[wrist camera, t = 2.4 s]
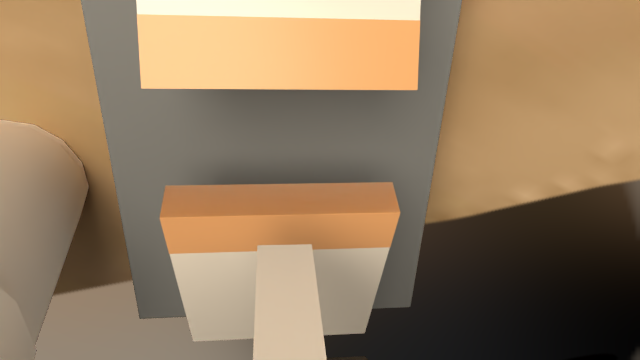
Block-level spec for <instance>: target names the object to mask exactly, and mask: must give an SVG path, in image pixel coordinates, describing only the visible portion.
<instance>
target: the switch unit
mask: <svg viewBox="0 0 640 360" xmlns="http://www.w3.org/2000/svg"><path fill="white" fill-rule="evenodd" d="M461 3H462V0H421V6H420V40H419V65H418V89H417V90H276V89H141V76H140V60H139V43H138V27H137V4H136V0H81V4H82V9H83V15H84V20H85V26H86V31H87V36H88V42H89V47H90V52H91V58H92V63H93V69H94V74H95V79H96V85H97V90H98V96H99V101H100V106H101V112H102V117H103V123H104V128H105V133H106V139H107V144H108V150H109V155H110V160H111V166H112V171H113V177H114V182H115V187H116V193H117V198H118V204H119V209H120V214H121V220H122V225H123V231H124V236H125V241H126V247H127V252H128V258H129V263H130V268H131V274H132V279H133V285H134V290H135V295H136V301H137V306H138V312H139V317H140V319H145V318H167V317H186V313H185V310H184V306H183V302H182V298H181V295H180V291H179V287H178V284H177V280H176V276H175V272H174V269H173V265H172V261H171V258H170V254H169V252H168V248H167V244H166V240H165V237H164V233H163V229H162V226H161V222H160V212H161V207H162V202H163V196H164V191H165V186H171V185H237V184H304V183H370V182H393V186H394V190H395V194H396V198H397V201H398V205H399V209H400V216H399V219H398V223H397V226H396V230H395V233H394V236H393V240H392V243H391V247H390V248H389V252H388V255H387V259H386V262H385V265H384V269H383V272H382V276H381V279H380V283H379V286H378V289H377V293H376V296H375V300H374V303H373V307H372V309H374V308H397V307H410V306H411V300H412V294H413V287H414V281H415V276H416V270H417V264H418V258H419V252H420V246H421V240H422V234H423V229H424V223H425V217H426V211H427V205H428V199H429V193H430V187H431V181H432V175H433V169H434V163H435V157H436V151H437V146H438V140H439V134H440V128H441V122H442V116H443V110H444V104H445V98H446V92H447V86H448V80H449V74H450V68H451V62H452V57H453V51H454V45H455V39H456V33H457V27H458V21H459V15H460V9H461Z"/></svg>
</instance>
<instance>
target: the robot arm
mask: <svg viewBox="0 0 640 360" xmlns="http://www.w3.org/2000/svg"><path fill="white" fill-rule="evenodd" d="M253 360H368V359H367V358H366V356H362V357H337V358H326V351H325V343H324V335H323V328H322V320H321V312H320V304H319V296H318V289H317V281H316V273H315V265H314V257H313V249H312V244H298V245H257V269H256V294H255V319H254V345H253Z"/></svg>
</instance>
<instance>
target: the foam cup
mask: <svg viewBox="0 0 640 360" xmlns="http://www.w3.org/2000/svg"><path fill="white" fill-rule="evenodd" d="M88 189H89V185H88V182H87V178H86V175H85V171H84V167H83V164H82V162H81V161H80V159H79V158H78V157H77V156H76V155H75V154H74V153H73V151H72V150H71V149H70V148H69V147H68V146H67V144H66V143H65V142H64V141H63V140H62V139H60V138H58V137H56V136H54V135H53V134H51V133H49V132H47V131H45V130H43V129H42V128H40V127H38V126H36V125H34V124H28V123H21V122H14V121H8V120H0V360H34V358H35V355H36V351H37V350H36V348H35V344H36V341H37V339H38V336H39V333H40V330H41V327H42V324H43V321H44V319H45V316H46V313H47V310H48V307H49V304H50V302H51V299H52V296H53V293H54V290H55V287H56V284H57V282H58V279H59V276H60V273H61V270H62V267H63V265H64V262H65V259H66V256H67V253H68V250H69V247H70V245H71V242H72V239H73V236H74V233H75V230H76V228H77V225H78V222H79V219H80V216H81V213H82V209H83V206H84V203H85V199H86V196H87V192H88Z"/></svg>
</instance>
